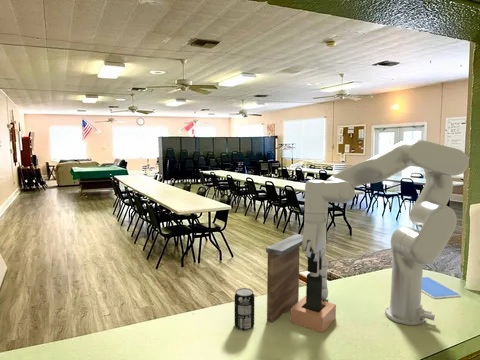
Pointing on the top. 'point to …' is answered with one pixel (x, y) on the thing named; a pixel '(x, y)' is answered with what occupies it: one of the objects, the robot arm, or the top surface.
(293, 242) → the brown board grey top
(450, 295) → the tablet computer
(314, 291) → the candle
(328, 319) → the socket block
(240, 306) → the beverage can
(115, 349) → the top surface
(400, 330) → the top surface
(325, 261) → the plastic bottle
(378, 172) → the robot arm
